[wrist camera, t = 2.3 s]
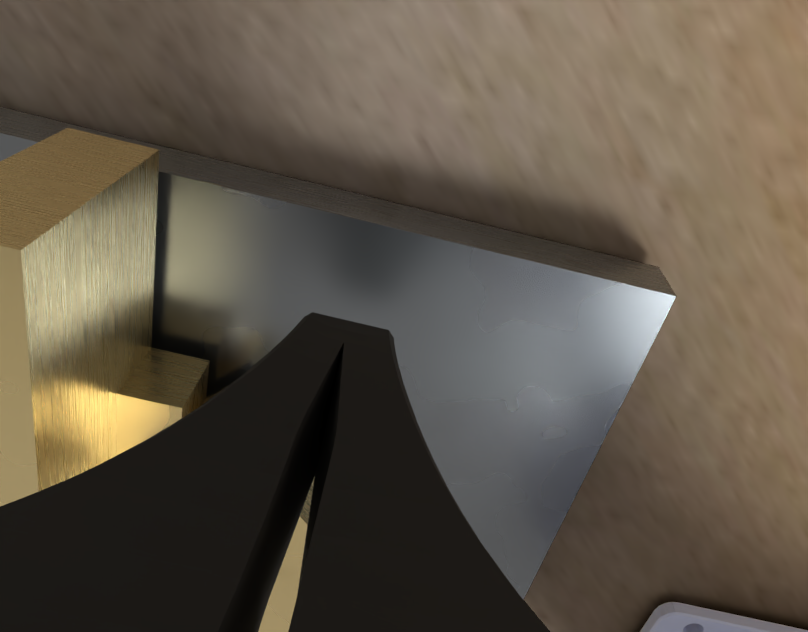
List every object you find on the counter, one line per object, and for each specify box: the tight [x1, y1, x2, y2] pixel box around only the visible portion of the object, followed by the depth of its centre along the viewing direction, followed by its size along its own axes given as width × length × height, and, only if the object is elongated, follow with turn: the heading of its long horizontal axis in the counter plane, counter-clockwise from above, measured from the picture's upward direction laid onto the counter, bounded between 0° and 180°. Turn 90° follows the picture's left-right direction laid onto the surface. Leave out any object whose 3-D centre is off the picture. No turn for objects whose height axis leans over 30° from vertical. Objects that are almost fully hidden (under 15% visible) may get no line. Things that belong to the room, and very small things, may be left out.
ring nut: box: [0, 128, 315, 632], centre depth 13 cm, size 15×11×4 cm
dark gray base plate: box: [0, 107, 676, 600], centre depth 15 cm, size 20×18×4 cm
